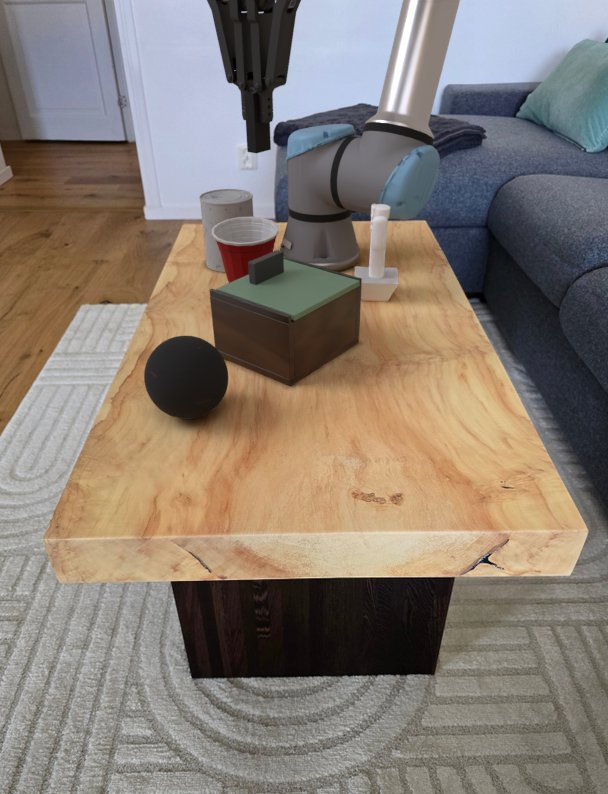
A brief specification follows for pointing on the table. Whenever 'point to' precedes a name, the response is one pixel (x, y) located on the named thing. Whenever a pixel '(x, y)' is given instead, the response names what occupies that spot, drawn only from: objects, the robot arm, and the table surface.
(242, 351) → the walnut box
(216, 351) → the speaker
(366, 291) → the figurine
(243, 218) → the plastic cup
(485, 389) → the table surface
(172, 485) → the table surface
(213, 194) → the grey tin can
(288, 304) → the slide door
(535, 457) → the table surface
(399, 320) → the table surface
